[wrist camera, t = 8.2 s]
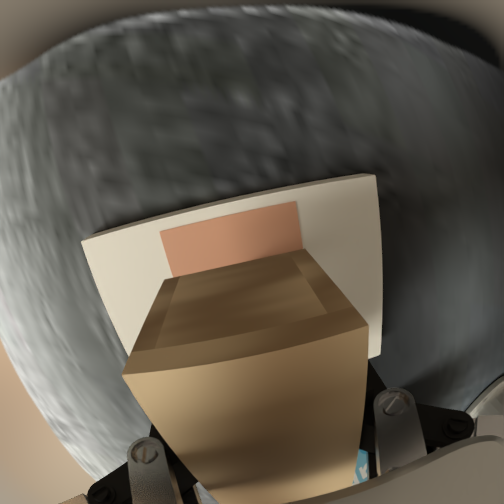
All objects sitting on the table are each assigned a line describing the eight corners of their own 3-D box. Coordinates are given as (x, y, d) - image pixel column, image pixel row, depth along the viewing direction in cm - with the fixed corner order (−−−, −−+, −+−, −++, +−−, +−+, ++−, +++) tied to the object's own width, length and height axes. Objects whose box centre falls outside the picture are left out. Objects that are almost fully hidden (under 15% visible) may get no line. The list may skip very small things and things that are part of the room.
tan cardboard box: (304, 248, 10) (368, 324, 5) (322, 412, 13) (351, 490, 8) (164, 279, 10) (121, 375, 5) (227, 432, 13) (231, 514, 8)
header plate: (362, 173, 15) (376, 175, 14) (371, 342, 19) (380, 355, 17) (92, 234, 15) (80, 241, 13) (158, 389, 19) (155, 403, 17)
